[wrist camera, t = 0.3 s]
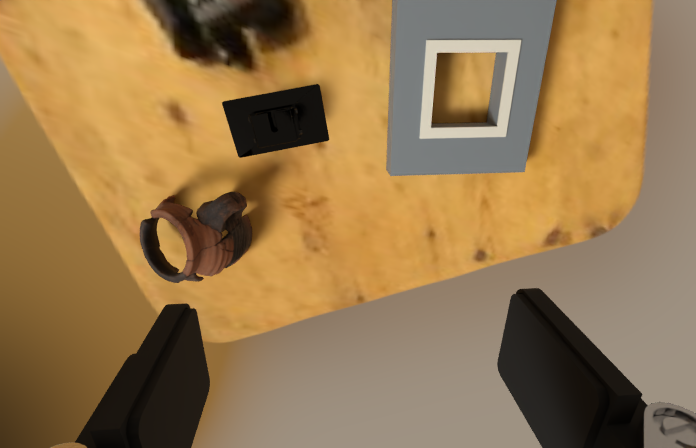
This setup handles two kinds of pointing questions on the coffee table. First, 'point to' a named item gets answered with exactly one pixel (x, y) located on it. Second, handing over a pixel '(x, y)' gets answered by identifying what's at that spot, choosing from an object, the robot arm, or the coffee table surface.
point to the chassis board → (506, 92)
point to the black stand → (277, 120)
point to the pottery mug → (199, 236)
